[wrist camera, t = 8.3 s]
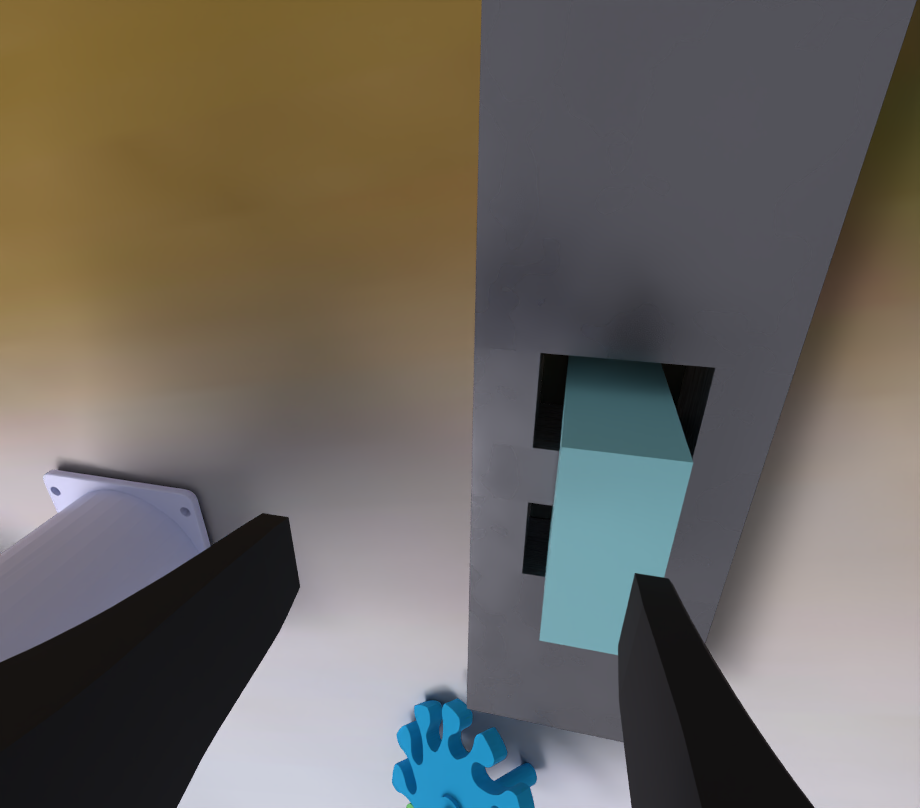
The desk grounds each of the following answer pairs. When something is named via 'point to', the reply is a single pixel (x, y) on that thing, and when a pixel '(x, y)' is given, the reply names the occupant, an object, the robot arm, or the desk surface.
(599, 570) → the upright aqua box
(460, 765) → the blue lumpy piece
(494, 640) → the grey board with slots
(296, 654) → the desk surface
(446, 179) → the desk surface
